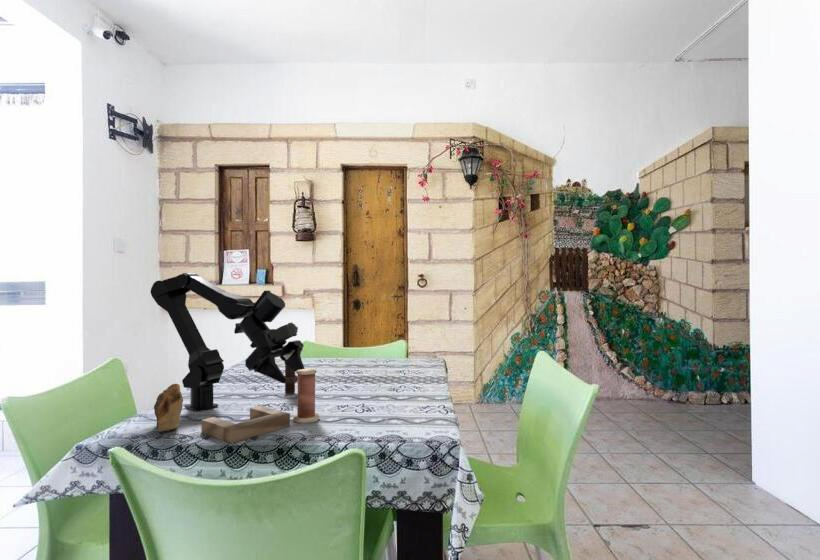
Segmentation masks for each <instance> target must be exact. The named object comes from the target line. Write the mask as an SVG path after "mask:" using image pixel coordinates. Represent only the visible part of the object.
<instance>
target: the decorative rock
mask: <svg viewBox="0 0 820 560" xmlns="http://www.w3.org/2000/svg"><path fill="white" fill-rule="evenodd" d="M183 403H184V398H183V394H182V391H181V386H180V384H179V383H172V384H171V385H169V386H168V387H167V388H166V389H164V390H163V391H162V392H161V393H159V394H158V396H157V397H156V401H155V404H154V406H153V410H154V412H153V413H154V415H155V417H156V428H157V430H158V432H160V433H161V432H166V431H172V430H175V429H176V428H179V425H180V416H181V413H182V411H183Z"/></svg>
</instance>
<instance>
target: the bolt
mask: <svg viewBox="0 0 820 560" xmlns="http://www.w3.org/2000/svg"><path fill="white" fill-rule="evenodd" d="M286 345H287V344H285V345H283V348H284V347H285V346H286ZM284 377H285V378H286V382H285V383H284V394H286V395H291V394H295V392H296V383H298V374H297V375H296V371H294V370H293V369H292V368H290V367H289V366H287V365H286V364H284Z"/></svg>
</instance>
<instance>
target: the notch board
mask: <svg viewBox="0 0 820 560" xmlns="http://www.w3.org/2000/svg"><path fill="white" fill-rule="evenodd" d="M290 426H291V413H289V412H286V411H282V410H278V409H274V408H271V407H266V406H263V405H258V406H253V407H250V408H249V420H246V421H245V420H244V421H240V422H236V423H234V422H231V421H228V420H226V419H222V418H218V417H216V416H212V417H207V418H203V419H201V433H202V432H203V433H202V434H204V433H206V434H205V435H207V434H208V435H207V436H209V435H210V436H209V437H212V436H213V437H212V438H215V437H216V438H215V439H218V438H219V439H218V440H220V441H223V442H226V443H229V444H233V443H237V442H241V441H244V440H248V439H250V437H251V438H254V437H258V436H261V435H263V434H267V433H270V432H273V431H277V430H281V429H284V428H287V427H290ZM257 435H258V436H257ZM253 436H254V437H253Z"/></svg>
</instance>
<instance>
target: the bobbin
mask: <svg viewBox="0 0 820 560" xmlns="http://www.w3.org/2000/svg"><path fill="white" fill-rule="evenodd" d="M316 373H317V369H313V368H305V369H301V370H297V371H295V374H297V376H298V381H297V404H296V405H297V406H296V407H297V413H296V414H293V416H292V418H293V420H292V421H293V422H294V423H297V424H311V423H316V422H317V421H319V419H320V415H319V413H318V412H316Z"/></svg>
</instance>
